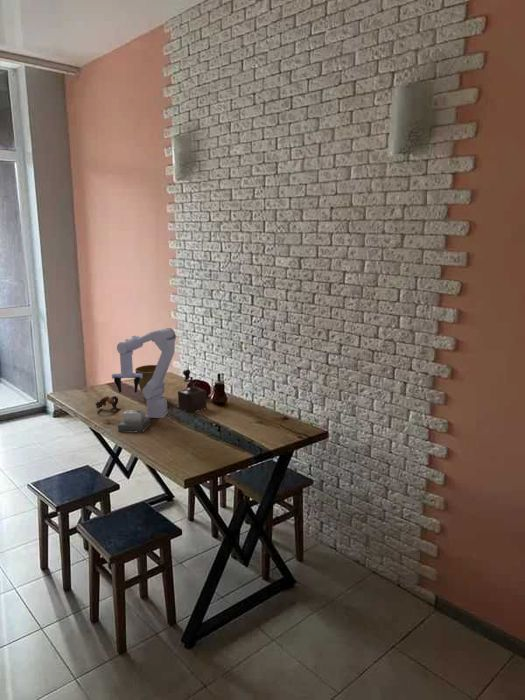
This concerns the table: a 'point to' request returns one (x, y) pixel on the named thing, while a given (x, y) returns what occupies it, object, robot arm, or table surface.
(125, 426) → the stand
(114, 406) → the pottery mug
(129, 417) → the block
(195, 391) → the manual coffee grinder
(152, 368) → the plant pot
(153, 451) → the table surface
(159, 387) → the robot arm
